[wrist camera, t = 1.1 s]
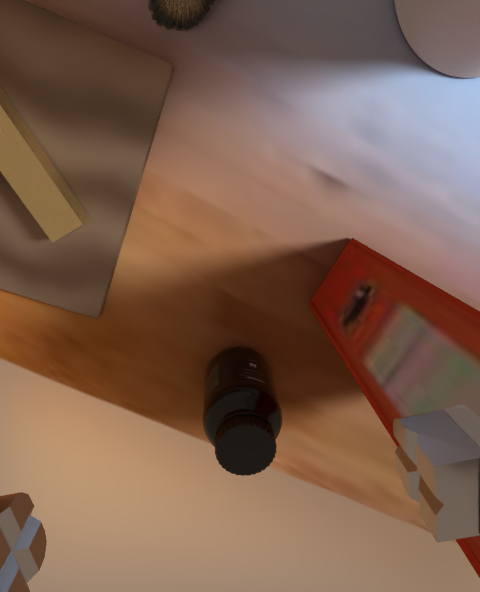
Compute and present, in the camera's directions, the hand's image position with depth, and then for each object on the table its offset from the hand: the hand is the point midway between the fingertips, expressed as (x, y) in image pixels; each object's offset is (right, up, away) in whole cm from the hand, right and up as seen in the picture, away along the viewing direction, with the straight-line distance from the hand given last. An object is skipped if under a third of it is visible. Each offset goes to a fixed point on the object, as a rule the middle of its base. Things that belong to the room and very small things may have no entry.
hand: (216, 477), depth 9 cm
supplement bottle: (0, -4, +34) cm, 35 cm away
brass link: (-18, +17, +24) cm, 35 cm away
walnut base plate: (-19, +16, +26) cm, 36 cm away
